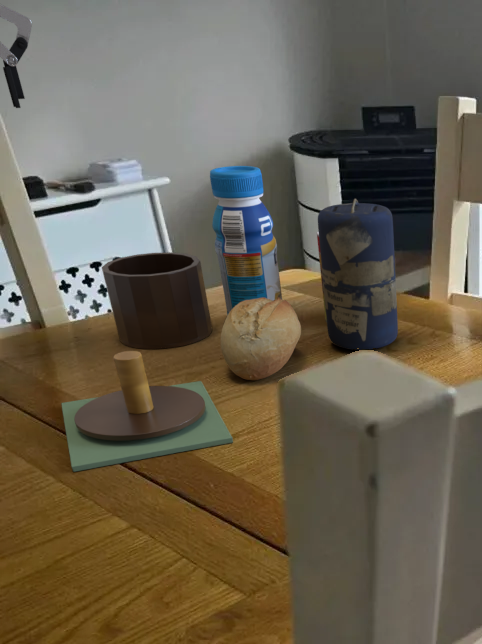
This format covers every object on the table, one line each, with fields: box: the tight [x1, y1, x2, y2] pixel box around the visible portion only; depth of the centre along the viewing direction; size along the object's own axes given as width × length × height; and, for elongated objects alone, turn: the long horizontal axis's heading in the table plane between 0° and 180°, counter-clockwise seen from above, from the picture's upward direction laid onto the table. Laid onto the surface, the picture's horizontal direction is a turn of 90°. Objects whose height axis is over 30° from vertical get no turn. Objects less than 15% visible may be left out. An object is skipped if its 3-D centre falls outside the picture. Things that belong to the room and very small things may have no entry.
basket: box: [101, 251, 213, 350], centre depth 114 cm, size 13×13×10 cm
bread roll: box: [220, 297, 302, 381], centre depth 104 cm, size 10×15×8 cm, turn 0°
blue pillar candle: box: [317, 198, 399, 351], centre depth 107 cm, size 10×10×18 cm
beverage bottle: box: [209, 165, 283, 317], centre depth 115 cm, size 8×8×20 cm
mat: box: [60, 380, 234, 473], centre depth 91 cm, size 16×18×1 cm
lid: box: [74, 350, 205, 441], centre depth 89 cm, size 14×14×7 cm
